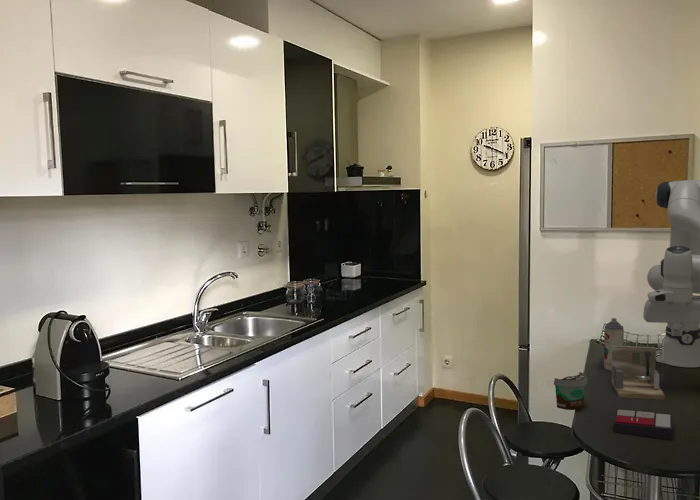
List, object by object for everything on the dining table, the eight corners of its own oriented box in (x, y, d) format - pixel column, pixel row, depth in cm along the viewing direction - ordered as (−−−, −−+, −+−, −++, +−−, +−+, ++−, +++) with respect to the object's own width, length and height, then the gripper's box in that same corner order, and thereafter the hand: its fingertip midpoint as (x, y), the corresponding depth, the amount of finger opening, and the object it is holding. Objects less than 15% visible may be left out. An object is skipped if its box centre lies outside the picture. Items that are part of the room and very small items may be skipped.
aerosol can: (602, 366, 233) (603, 316, 231) (621, 367, 231) (621, 316, 229) (605, 371, 226) (606, 320, 224) (625, 372, 225) (625, 320, 223)
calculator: (616, 408, 181) (672, 412, 174) (616, 421, 181) (672, 427, 174) (613, 420, 171) (672, 426, 164) (613, 435, 172) (672, 441, 165)
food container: (568, 414, 186) (568, 383, 185) (553, 408, 191) (553, 378, 190) (595, 406, 192) (596, 376, 191) (580, 400, 197) (580, 371, 196)
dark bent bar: (645, 379, 210) (645, 352, 209) (650, 379, 209) (650, 352, 208) (646, 382, 207) (647, 354, 206) (651, 382, 206) (652, 354, 205)
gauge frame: (611, 382, 214) (611, 345, 213) (654, 384, 210) (654, 347, 209) (618, 397, 199) (619, 358, 198) (665, 399, 195) (665, 359, 194)
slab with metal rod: (632, 380, 210) (632, 366, 209) (653, 381, 208) (653, 367, 207) (637, 387, 202) (637, 373, 201) (659, 388, 200) (659, 374, 199)
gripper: (709, 294, 198) (708, 334, 200) (642, 293, 204) (642, 332, 205) (715, 297, 192) (714, 339, 193) (646, 296, 198) (645, 336, 199)
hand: (676, 335), depth 199 cm, fingers closed
